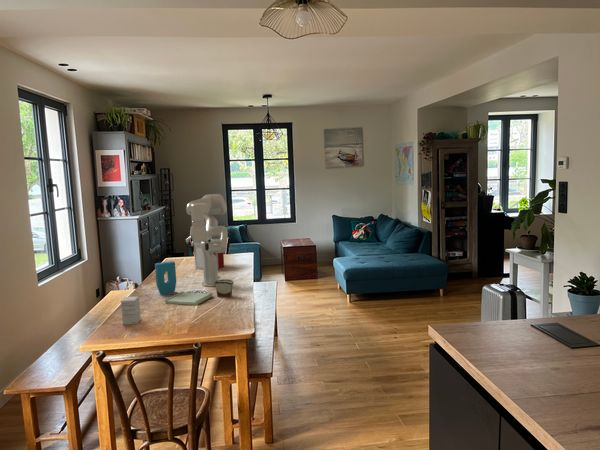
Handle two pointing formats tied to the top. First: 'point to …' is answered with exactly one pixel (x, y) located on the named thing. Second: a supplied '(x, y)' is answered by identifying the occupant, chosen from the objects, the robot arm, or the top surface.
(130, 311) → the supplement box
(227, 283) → the food container
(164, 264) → the block
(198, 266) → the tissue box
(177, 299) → the board
